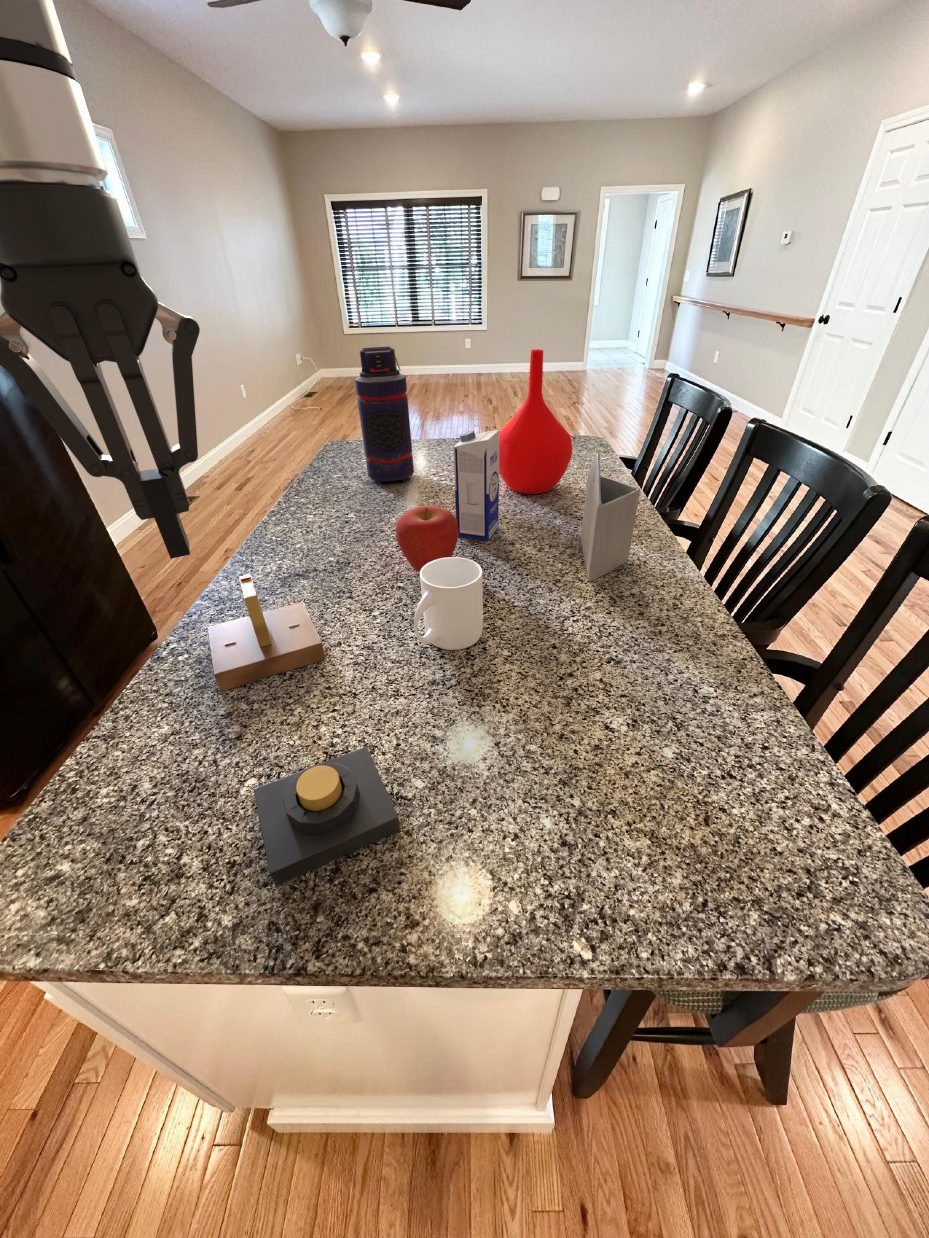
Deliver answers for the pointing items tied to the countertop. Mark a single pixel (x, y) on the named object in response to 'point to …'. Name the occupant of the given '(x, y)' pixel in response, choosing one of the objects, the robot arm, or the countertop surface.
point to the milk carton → (477, 484)
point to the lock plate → (247, 661)
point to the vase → (534, 441)
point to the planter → (607, 522)
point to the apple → (426, 535)
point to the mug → (451, 603)
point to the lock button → (319, 788)
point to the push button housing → (324, 818)
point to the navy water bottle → (384, 416)
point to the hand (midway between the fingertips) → (179, 549)
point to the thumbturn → (254, 610)
